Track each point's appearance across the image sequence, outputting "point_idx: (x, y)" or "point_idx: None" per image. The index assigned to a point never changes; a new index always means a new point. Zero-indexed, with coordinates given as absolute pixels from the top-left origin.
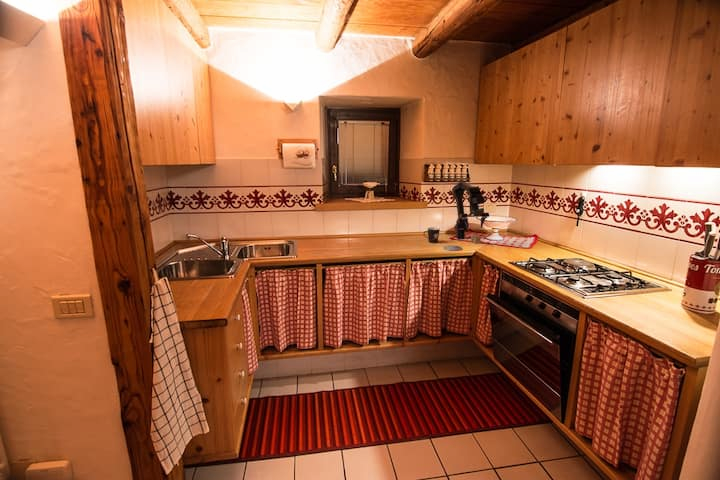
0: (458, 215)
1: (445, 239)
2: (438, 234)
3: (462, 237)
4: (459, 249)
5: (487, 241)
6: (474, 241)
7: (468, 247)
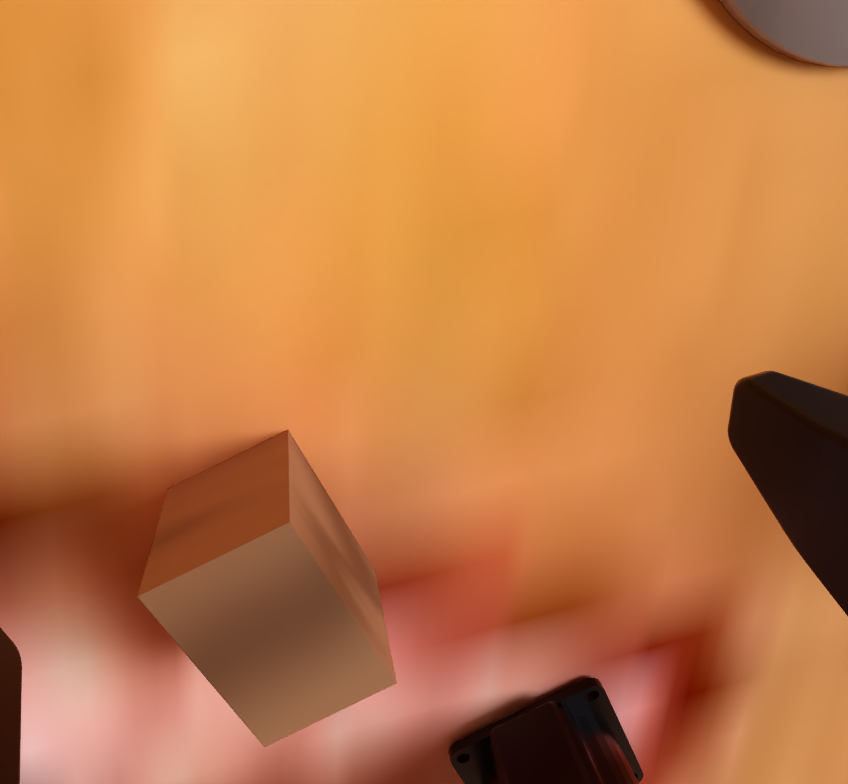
0: None
1: (820, 601)
2: None
3: (533, 723)
4: None
5: None
6: (306, 478)
7: (471, 6)
